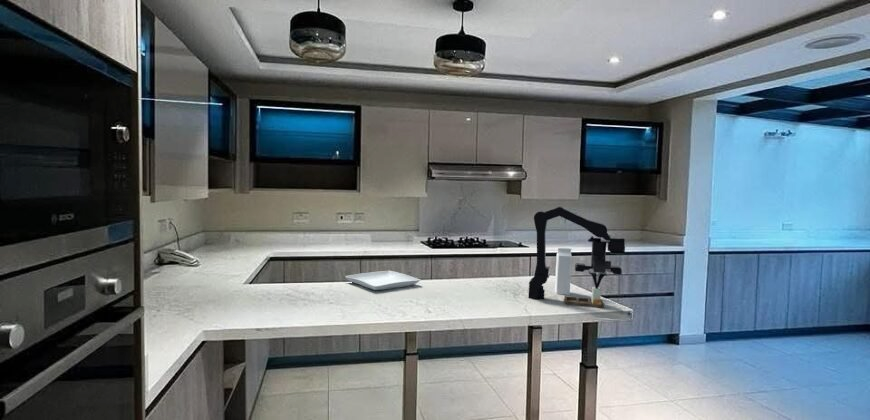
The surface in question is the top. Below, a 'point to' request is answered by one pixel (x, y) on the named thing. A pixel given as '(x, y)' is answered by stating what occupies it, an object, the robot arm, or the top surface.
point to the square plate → (382, 280)
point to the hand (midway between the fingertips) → (596, 288)
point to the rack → (583, 302)
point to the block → (596, 294)
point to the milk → (563, 271)
